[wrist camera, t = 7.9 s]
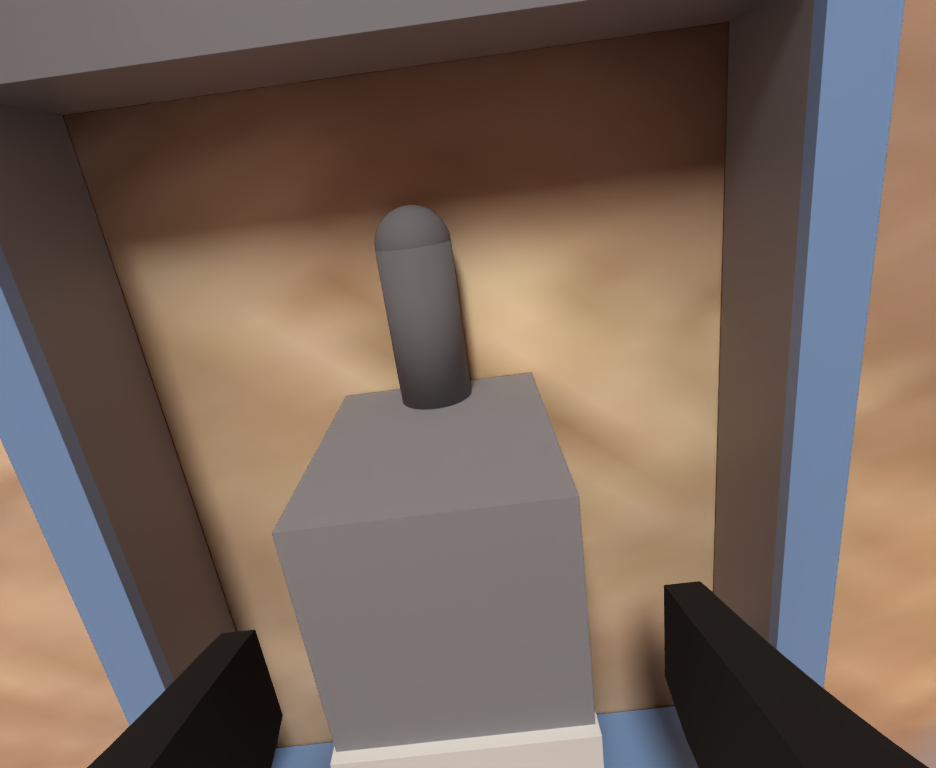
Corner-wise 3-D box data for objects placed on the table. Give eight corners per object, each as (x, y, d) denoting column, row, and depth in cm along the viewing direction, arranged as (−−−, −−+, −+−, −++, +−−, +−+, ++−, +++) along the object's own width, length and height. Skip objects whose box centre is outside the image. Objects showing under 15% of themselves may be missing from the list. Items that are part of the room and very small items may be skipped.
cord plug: (516, 189, 11) (565, 191, 6) (558, 630, 14) (610, 866, 9) (304, 218, 11) (172, 244, 6) (399, 648, 14) (367, 890, 9)
